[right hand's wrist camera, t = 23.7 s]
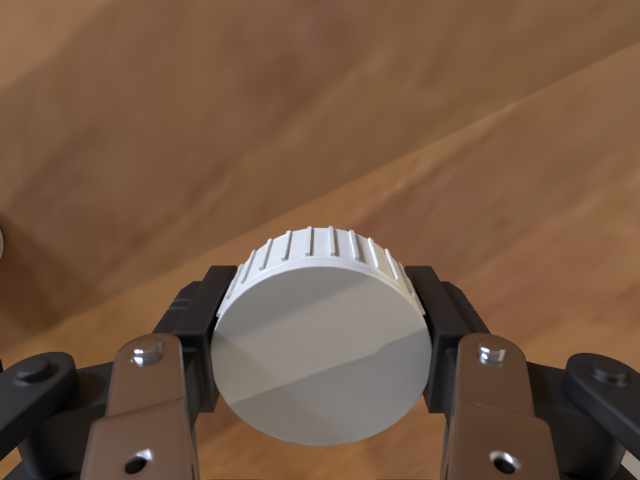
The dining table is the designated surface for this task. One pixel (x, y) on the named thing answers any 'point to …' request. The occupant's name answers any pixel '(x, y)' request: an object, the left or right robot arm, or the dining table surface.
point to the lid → (321, 339)
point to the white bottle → (1, 244)
